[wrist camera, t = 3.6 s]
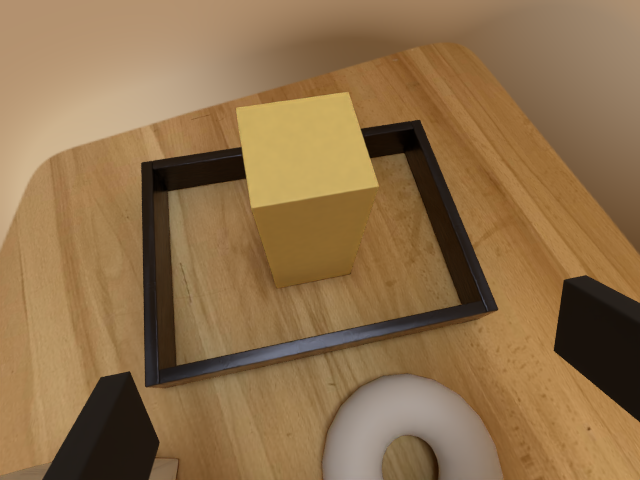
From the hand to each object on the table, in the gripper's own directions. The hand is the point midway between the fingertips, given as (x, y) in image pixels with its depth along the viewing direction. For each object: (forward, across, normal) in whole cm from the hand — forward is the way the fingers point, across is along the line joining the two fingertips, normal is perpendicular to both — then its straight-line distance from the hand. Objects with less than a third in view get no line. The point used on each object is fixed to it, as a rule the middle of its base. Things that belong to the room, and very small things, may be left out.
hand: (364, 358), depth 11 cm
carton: (+16, 0, -3) cm, 17 cm away
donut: (+6, +3, -14) cm, 15 cm away
